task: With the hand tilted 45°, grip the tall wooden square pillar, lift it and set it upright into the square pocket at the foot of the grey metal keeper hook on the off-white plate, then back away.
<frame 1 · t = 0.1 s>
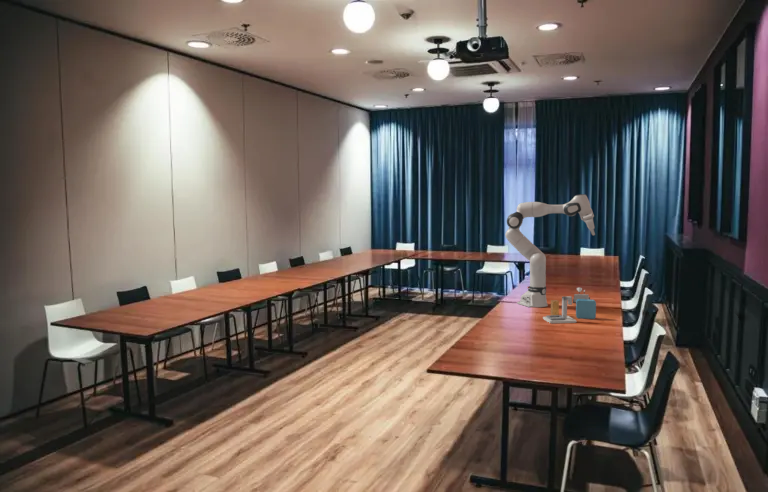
hand: (593, 234, 389), 52 cm above the table, tool tilted 20°, fingers open, 8 cm apart
keeper: (558, 320, 356), on the table
data package: (585, 318, 363), on the table
toy car: (581, 302, 418), on the table
wooden square pillar: (554, 315, 372), on the table
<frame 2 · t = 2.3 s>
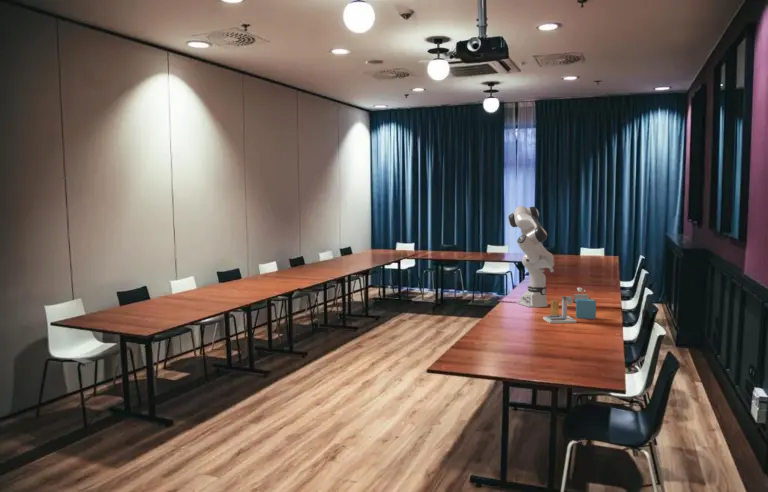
hand: (548, 271, 366), 30 cm above the table, tool tilted 40°, fingers open, 8 cm apart
nothing on the table moved.
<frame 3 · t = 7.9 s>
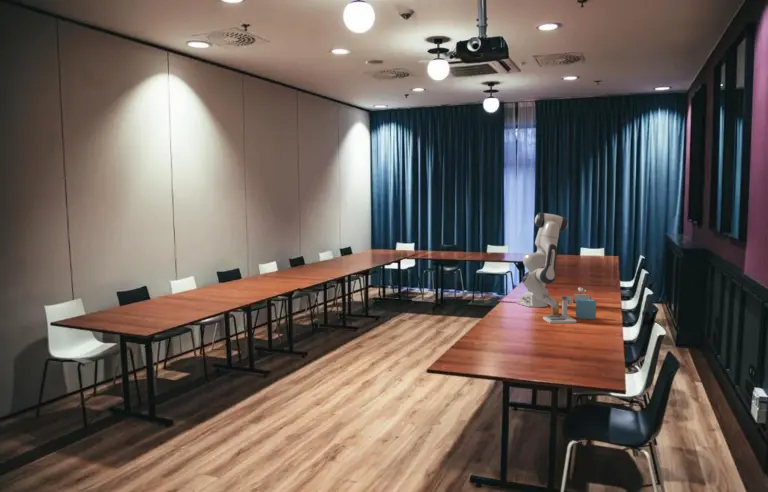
hand: (555, 307, 371), 5 cm above the table, tool tilted 45°, fingers closed on wooden square pillar, 4 cm apart
wooden square pillar: (554, 315, 372), on the table, touching gripper
everything else where it was.
when the fingers open (9 cm above the table, at t = 13.7 s): wooden square pillar drops 2 cm, resting on keeper.
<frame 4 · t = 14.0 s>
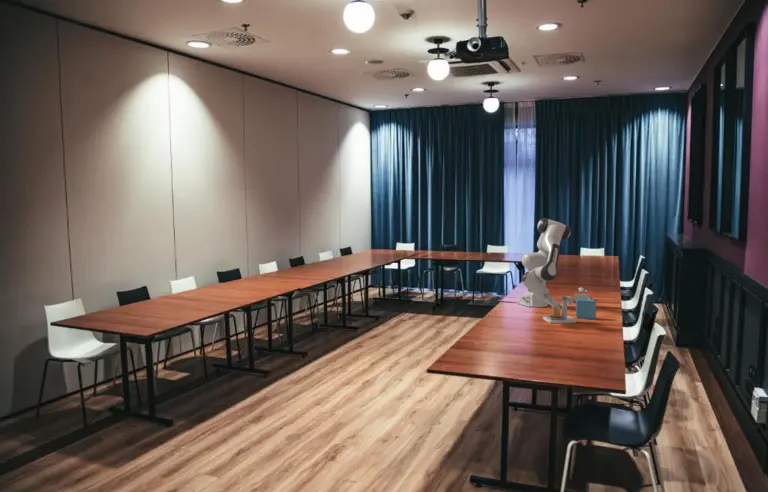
hand: (556, 307, 355), 9 cm above the table, tool tilted 45°, fingers open, 7 cm apart
wooden square pillar: (555, 318, 356), point 1 cm above the table, touching keeper
everything else where it was.
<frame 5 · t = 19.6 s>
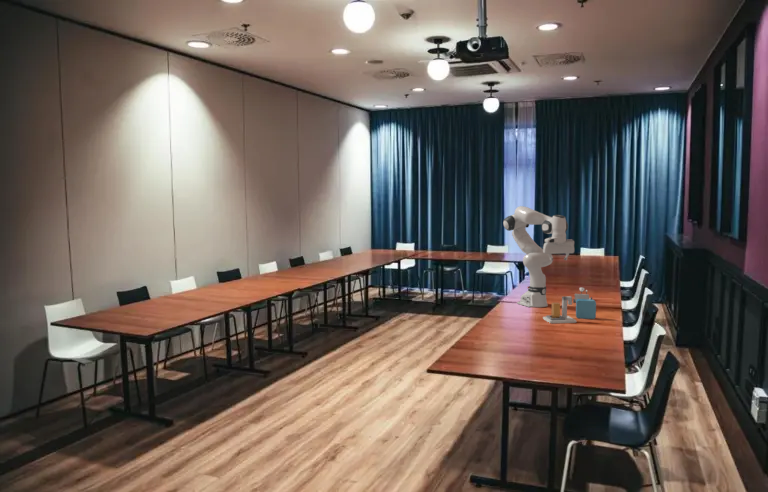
hand: (558, 260, 369), 37 cm above the table, tool pointing down, fingers open, 8 cm apart
at the end: wooden square pillar 0.0 cm from the target spot on the keeper, point 1.5 cm above the keeper's base; wooden square pillar tilted 0°; the gripper is holding nothing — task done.
